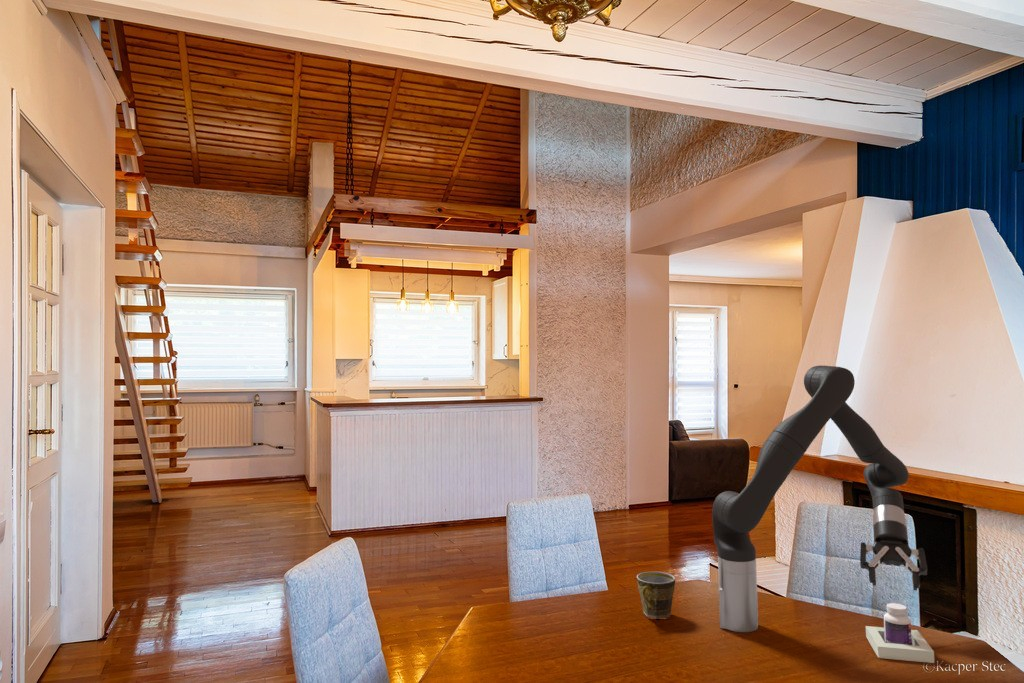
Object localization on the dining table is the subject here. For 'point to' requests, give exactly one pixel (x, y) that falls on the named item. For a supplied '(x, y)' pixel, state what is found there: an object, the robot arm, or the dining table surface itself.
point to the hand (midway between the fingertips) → (894, 586)
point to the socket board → (900, 646)
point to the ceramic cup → (656, 593)
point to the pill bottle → (897, 625)
